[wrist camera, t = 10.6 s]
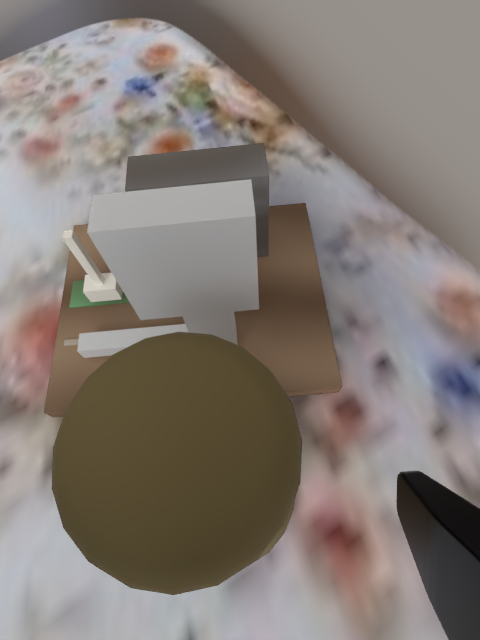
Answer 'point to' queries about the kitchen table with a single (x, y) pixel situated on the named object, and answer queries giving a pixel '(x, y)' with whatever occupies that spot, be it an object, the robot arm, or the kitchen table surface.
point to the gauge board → (252, 325)
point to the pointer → (92, 273)
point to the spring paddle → (177, 259)
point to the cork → (177, 463)
